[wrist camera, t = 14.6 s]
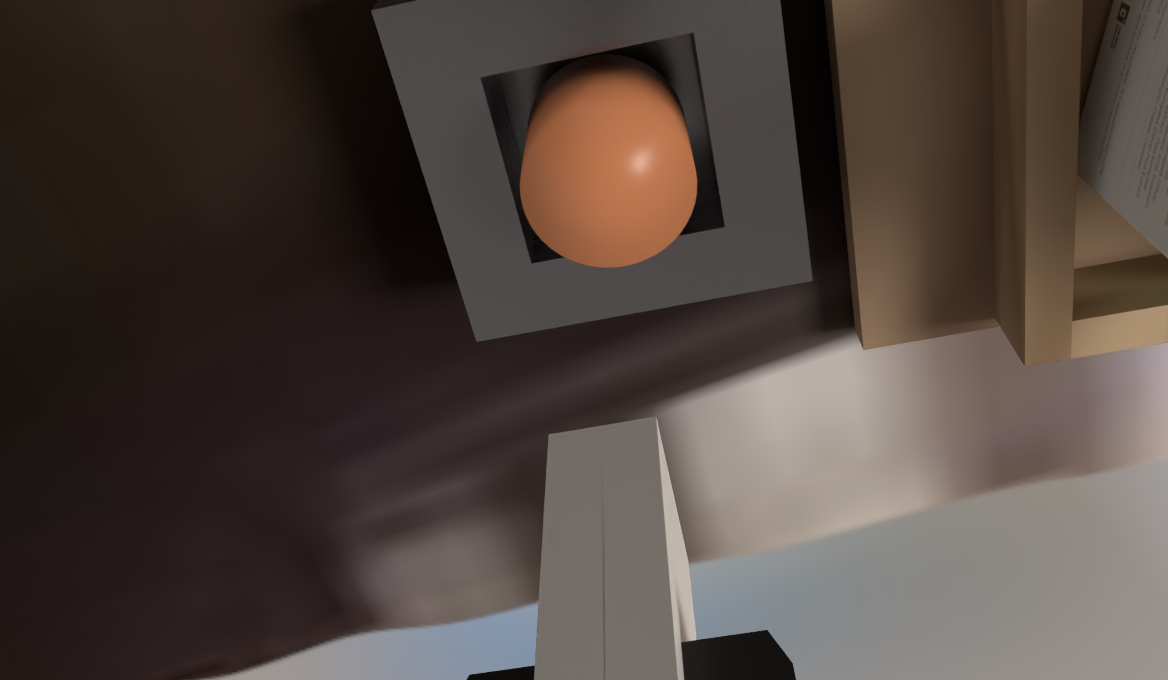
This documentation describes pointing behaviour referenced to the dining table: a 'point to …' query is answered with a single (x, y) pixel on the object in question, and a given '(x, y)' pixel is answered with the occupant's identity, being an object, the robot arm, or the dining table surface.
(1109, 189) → the skincare box
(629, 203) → the button
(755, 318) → the dining table surface
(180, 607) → the dining table surface
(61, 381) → the dining table surface
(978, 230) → the wooden tray
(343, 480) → the dining table surface
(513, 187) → the button housing
